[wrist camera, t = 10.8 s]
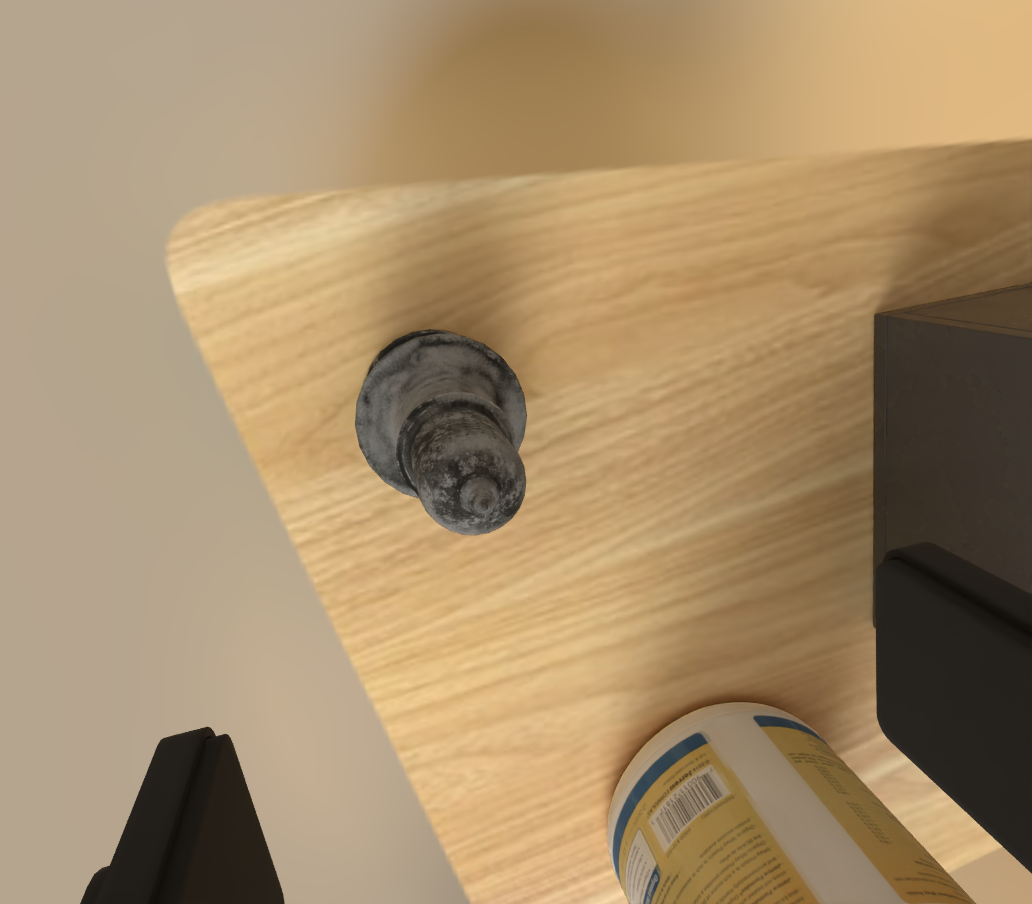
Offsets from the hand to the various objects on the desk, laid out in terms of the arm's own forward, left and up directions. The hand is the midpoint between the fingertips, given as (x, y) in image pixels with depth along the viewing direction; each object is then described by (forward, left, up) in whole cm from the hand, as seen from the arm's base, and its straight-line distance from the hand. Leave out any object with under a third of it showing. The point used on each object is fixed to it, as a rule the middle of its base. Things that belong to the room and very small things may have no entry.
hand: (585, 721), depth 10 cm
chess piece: (0, 0, -20) cm, 20 cm away
